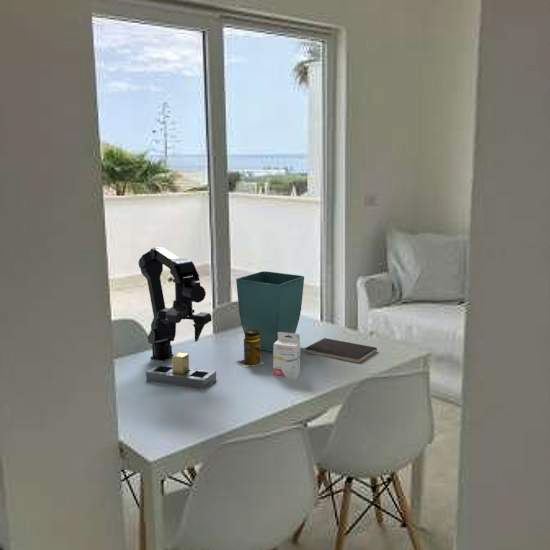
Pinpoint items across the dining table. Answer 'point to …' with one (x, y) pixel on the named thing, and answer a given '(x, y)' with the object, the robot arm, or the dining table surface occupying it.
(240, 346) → the dining table surface
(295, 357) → the ink cartridge box
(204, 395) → the dining table surface
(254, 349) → the condiment
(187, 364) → the brass peg
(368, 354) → the hardcover book
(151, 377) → the gray socket block
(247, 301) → the flower pot
